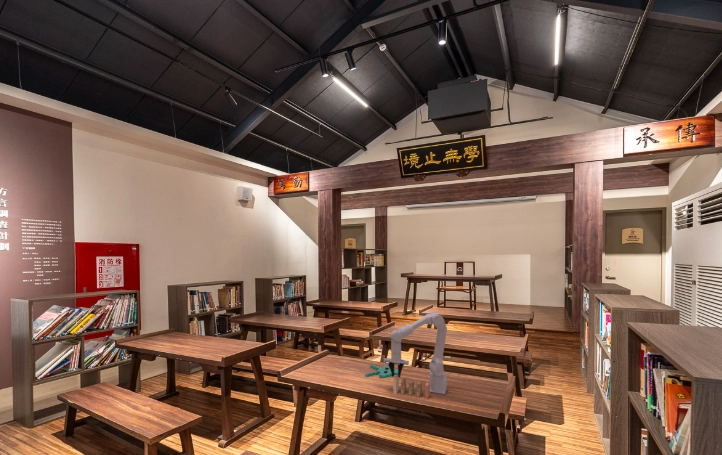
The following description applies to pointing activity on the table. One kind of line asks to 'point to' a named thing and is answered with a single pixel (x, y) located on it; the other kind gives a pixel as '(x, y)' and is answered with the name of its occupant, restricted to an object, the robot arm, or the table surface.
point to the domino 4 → (427, 390)
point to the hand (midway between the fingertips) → (396, 376)
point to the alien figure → (381, 371)
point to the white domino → (395, 385)
